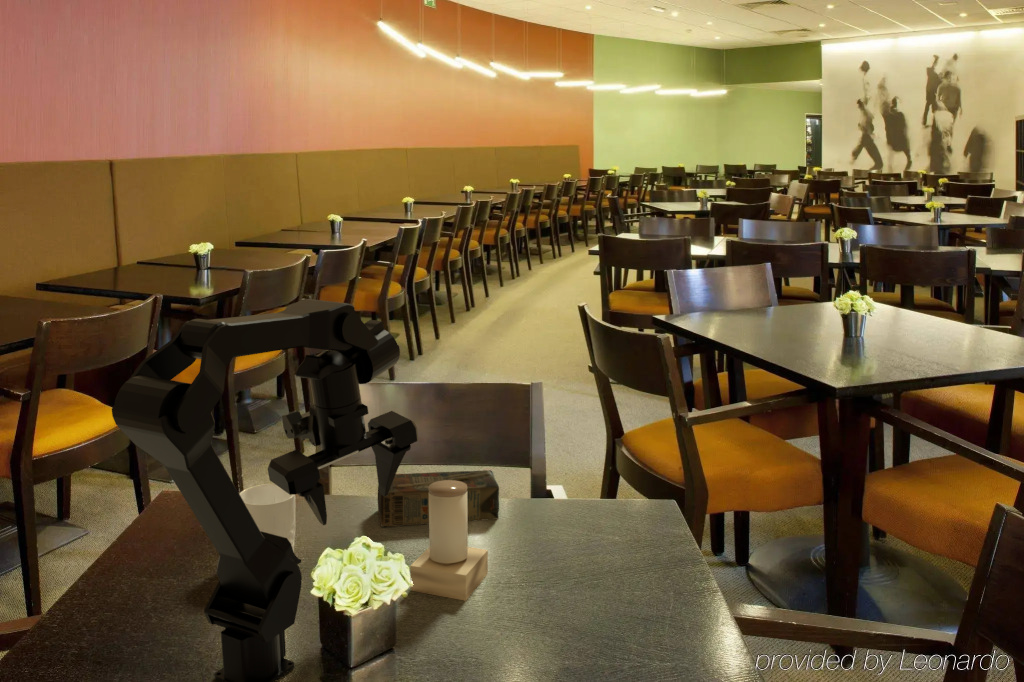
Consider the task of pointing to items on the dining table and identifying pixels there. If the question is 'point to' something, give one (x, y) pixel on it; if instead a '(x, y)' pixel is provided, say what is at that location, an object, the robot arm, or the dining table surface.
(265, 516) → the white cup
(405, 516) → the beverage carton
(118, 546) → the dining table surface
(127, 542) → the dining table surface
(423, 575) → the maple block
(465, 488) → the jar
